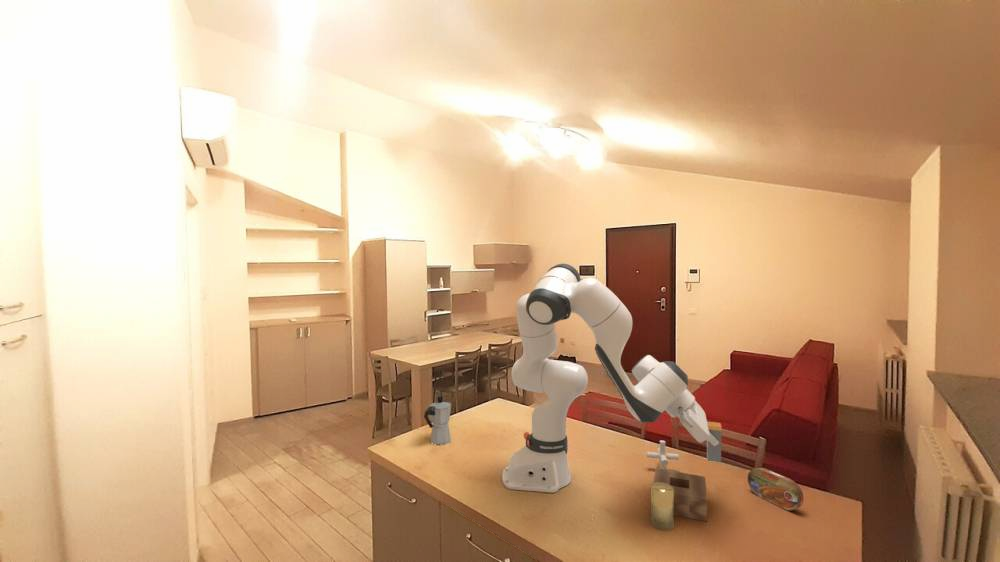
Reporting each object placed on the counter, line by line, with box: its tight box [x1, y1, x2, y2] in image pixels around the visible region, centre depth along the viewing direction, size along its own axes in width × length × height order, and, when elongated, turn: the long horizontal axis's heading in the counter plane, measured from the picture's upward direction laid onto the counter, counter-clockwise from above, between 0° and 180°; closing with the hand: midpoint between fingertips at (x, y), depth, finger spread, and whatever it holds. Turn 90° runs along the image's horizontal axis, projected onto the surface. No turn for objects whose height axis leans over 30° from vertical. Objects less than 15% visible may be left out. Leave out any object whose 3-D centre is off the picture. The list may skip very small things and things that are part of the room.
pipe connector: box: [646, 440, 680, 470], centre depth 144 cm, size 10×10×10 cm
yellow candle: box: [650, 482, 675, 531], centre depth 114 cm, size 6×6×10 cm
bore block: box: [652, 467, 708, 522], centre depth 124 cm, size 14×14×6 cm
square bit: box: [706, 420, 723, 463], centre depth 122 cm, size 4×4×10 cm
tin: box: [747, 467, 804, 511], centre depth 124 cm, size 15×3×8 cm, turn 24°
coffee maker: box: [423, 395, 452, 446], centre depth 170 cm, size 15×9×18 cm, turn 144°
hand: (716, 440), depth 121 cm, fingers closed on square bit, 3 cm apart
